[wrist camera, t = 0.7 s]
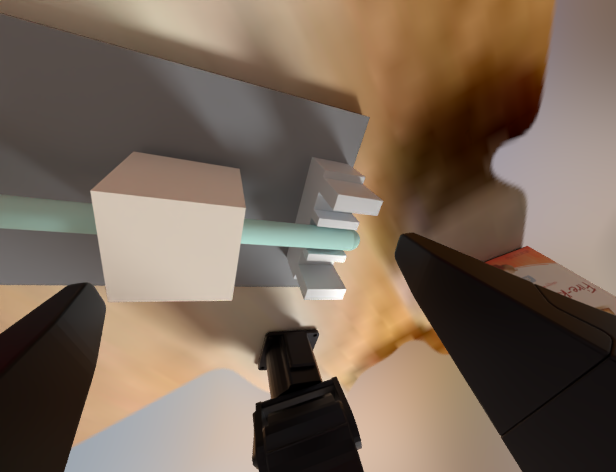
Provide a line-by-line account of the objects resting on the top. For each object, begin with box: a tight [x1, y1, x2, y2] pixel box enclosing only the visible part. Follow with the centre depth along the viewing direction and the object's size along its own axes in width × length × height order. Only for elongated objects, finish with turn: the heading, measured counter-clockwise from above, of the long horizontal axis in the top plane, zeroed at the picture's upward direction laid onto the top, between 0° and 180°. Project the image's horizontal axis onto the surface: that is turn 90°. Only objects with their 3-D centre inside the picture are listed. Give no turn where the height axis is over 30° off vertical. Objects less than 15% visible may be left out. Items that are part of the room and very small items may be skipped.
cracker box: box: [485, 246, 616, 315], centre depth 26 cm, size 14×6×21 cm, turn 102°
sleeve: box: [90, 152, 246, 302], centre depth 15 cm, size 6×6×6 cm
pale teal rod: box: [0, 194, 360, 251], centre depth 14 cm, size 4×29×4 cm, turn 74°
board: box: [0, 13, 383, 300], centre depth 15 cm, size 16×30×7 cm, turn 74°
